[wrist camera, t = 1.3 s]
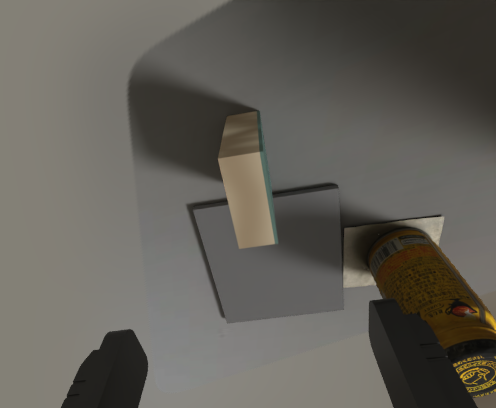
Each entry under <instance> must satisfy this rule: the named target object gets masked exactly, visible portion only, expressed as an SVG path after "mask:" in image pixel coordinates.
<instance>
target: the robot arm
mask: <svg viewBox="0 0 496 408" xmlns="http://www.w3.org/2000/svg"><path fill="white" fill-rule="evenodd" d="M369 337H370V343H371V347H372V349H373V352H374V355H375V358H376V361H377V364H378V366H379V369H380V372H381V375H382V377H383V380H384V383H385V385H386V388H387V391H388V394H389V396H390V399H391V402H392V404H393V407H394V408H478V407H477V406H476V404H475V402H474V400H473V399H472V397H471V395H470V394H469V392H468V390H467V388H466V387H465V385H464V383H463V381H462V380H461V378H460V376H459V375H458V373H457V371H456V369H455V368H454V366H453V364H452V362H451V361H450V359H448V356H447V354H446V352H445V350H444V349H443V347H442V346H441V345H440V342H439V340H438V338H437V337H436V335H435V333H434V331H433V330H432V328H431V326H430V325H428V324H427V323H426V322H425V321H424V320H423V319H422V318H420V317H419V316H418V315H417V314H416V313H414V314H405V315H404V314H403V312H402V310H401V308H400V306H399V305H398V303H397V301H396V300H395V299H394V298H389V299H380V300H372V301H370V302H369ZM147 372H148V361H147V356H146V354H145V352H144V350H143V348H142V346H141V345H140V343H139V341H138V339H137V337H136V335H135V333H134V331H133V330H131V329H128V330H120V331H112V332H108V333H107V334H106V336H105V337H104V340H103V342H102V344H101V346H100V349H99V350H93V351H92V352H91V354H90V355H89V356H88V357H87V358H86V360H85V361H84V362H83V363H82V364H81V366H80V368H79V370H78V372H77V374H76V376H75V379H74V381H73V385H71V387H70V389H69V392H68V394H67V398H66V399H65V400H64V402H63V404H62V406H61V408H138V405H139V402H140V399H141V395H142V391H143V388H144V384H145V380H146V377H147Z"/></svg>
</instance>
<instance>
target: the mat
mask: <svg viewBox="0 0 496 408" xmlns="http://www.w3.org/2000/svg"><path fill="white" fill-rule="evenodd" d="M272 197H273V205H274V213H275V222H276V230H277V238H278V244H271V245H264V246H257V247H249V248H242V249H239V246H238V242H237V237H236V233H235V229H234V225H233V221H232V216H231V212H230V208H229V204H228V201H227V202H220V203H213V204H207V205H200V206H194V208H193V212H194V216H195V219H196V222H197V225H198V229H199V232H200V235H201V239H202V242H203V245H204V249H205V252H206V255H207V258H208V262H209V265H210V268H211V272H212V275H213V278H214V281H215V285H216V288H217V291H218V295H219V298H220V301H221V305H222V308H223V311H224V314H225V318H226V321H227V323H235V322H244V321H252V320H261V319H269V318H278V317H286V316H295V315H303V314H312V313H320V312H329V311H337V310H344V300H343V275H342V251H341V226H340V202H339V187H338V185H333V186H326V187H319V188H313V189H306V190H299V191H293V192H286V193H280V194H273V195H272Z"/></svg>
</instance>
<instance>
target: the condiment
mask: <svg viewBox="0 0 496 408" xmlns="http://www.w3.org/2000/svg"><path fill="white" fill-rule="evenodd" d="M443 222H444V216H443V217H433V218H421V219H412V220H405V221H397V222H390V223H385V224H374V225H364V226H359V227H350V228H344V261H343V270H344V271H343V288H347V287H357V286H367V285H376V286H377V287H378V288H379V291H380V294H381V296H382V298H383V299H389V298H394V299H395V300H396V301H397V303H398V305H399V306H400V308H401V310H402V312H403V314H404V315H405V314H414V313H416V314H417V315H418V316H419V317H420V318H422V319H423V320H424V321H425V322H426V323H427V324H428V325H430V326H431V328H432V330H433V331H434V333H435V335H436V337H437V338H438V340H439V342H440V345H441V346H442V347H443V349H444V350H445V352H446V354H447V356H448V359H450V361H451V362H452V364H453V366H454V368H455V369H456V371H457V373H458V375H459V376H460V378H461V380H462V381H463V383H464V385H465V387H466V388H467V390H468V392H469V394H470V395H471V397H472V398H477V397H482V396H485V395H488V394H491V393H493V392H495V391H496V322H495V320H494V318H493V316H492V315H491V313H490V311H489V310H488V308H487V307H486V306H485V305H484V304H483V302H482V301H481V299H480V298H479V297H478V295H477V294H476V293H475V292H474V291H473V290H472V289H471V287H470V286H469V285H468V283H467V282H466V280H465V279H464V278H463V277H462V276H461V275H460V273H459V271H458V270H457V269H456V268H455V266H454V265H453V264H452V263H451V262H450V260H449V259H448V258H447V257H446V255H445V254H444V253H443V252H442V250H441V248H439V247H438V244H439V239H440V235H441V232H442V227H443ZM378 234H379V235H378ZM363 267H365V268H366V269H364V268H363ZM367 269H369V270H367Z"/></svg>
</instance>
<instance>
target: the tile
mask: <svg viewBox="0 0 496 408" xmlns="http://www.w3.org/2000/svg"><path fill="white" fill-rule="evenodd" d="M218 162H219V166H220V170H221V174H222V178H223V183H224V187H225V191H226V195H227V200H228V204H229V208H230V212H231V216H232V221H233V225H234V229H235V233H236V237H237V242H238V246H239V249H242V248H249V247H257V246H264V245H271V244H278V238H277V230H276V222H275V213H274V205H273V197H272V189H271V182H270V175H269V169H268V163H267V156H266V150H265V143H264V137H263V131H262V124H261V118H260V112H259V111H254V112H248V113H242V114H237V115H231V116H227V118H226V123H225V127H224V132H223V137H222V141H221V146H220V151H219V156H218Z"/></svg>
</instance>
